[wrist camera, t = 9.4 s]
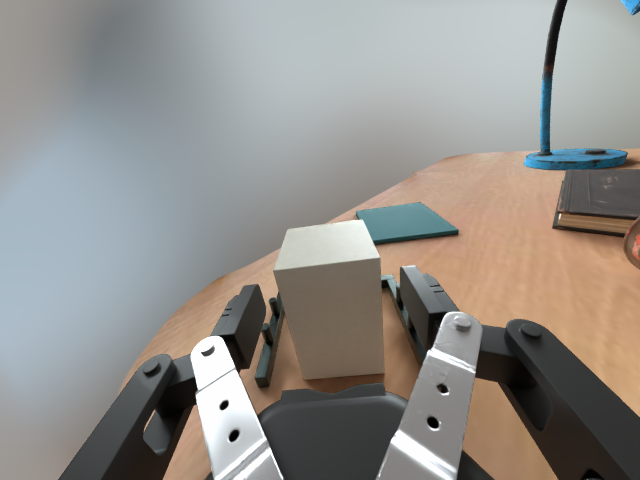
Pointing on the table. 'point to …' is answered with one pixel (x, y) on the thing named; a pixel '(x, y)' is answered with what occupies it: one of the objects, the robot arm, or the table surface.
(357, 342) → the container
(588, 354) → the table surface
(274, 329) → the rack
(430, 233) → the mat
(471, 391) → the robot arm
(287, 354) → the table surface
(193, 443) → the table surface
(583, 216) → the hardcover book
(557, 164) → the desk lamp
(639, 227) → the tin
